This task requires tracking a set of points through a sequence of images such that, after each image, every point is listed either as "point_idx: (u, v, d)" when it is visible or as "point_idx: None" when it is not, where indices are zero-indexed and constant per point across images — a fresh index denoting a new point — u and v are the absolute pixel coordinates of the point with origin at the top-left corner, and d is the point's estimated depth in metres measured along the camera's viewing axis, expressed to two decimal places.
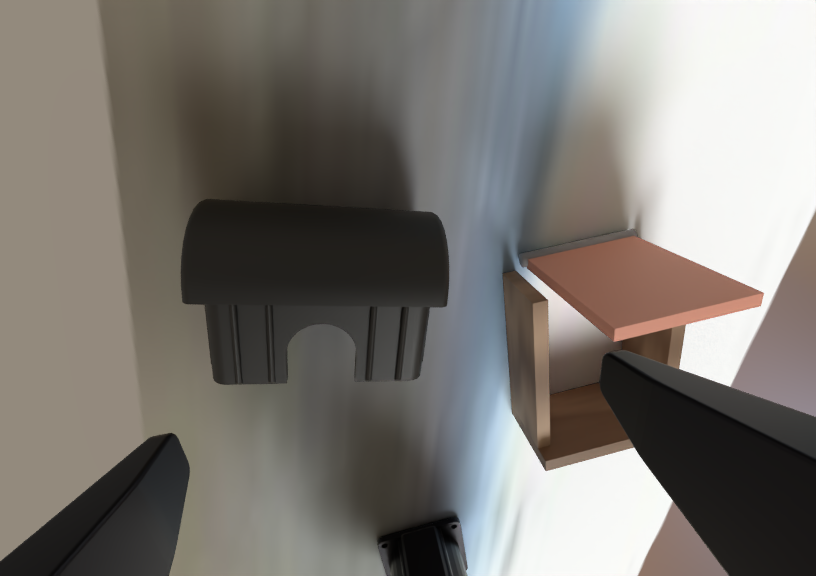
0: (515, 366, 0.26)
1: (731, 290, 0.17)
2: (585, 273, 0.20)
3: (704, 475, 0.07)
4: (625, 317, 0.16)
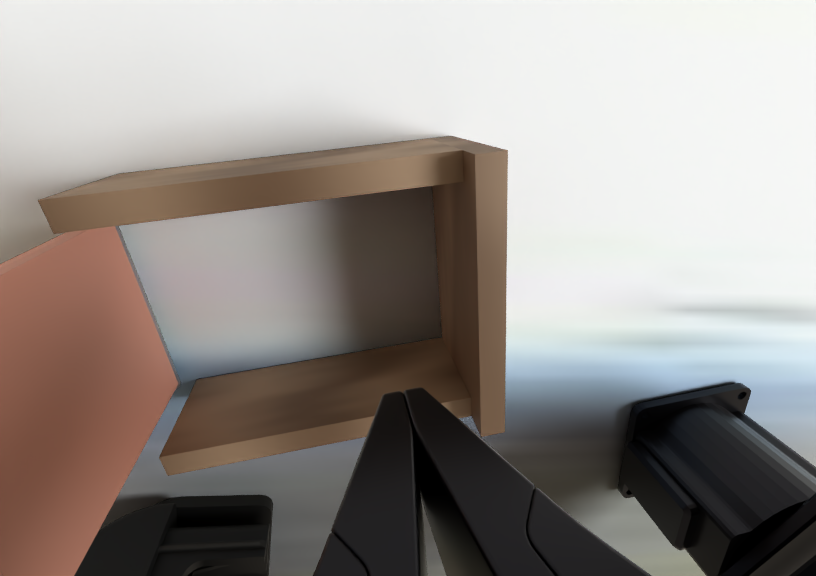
0: None
1: None
2: None
3: (444, 534, 0.06)
4: None
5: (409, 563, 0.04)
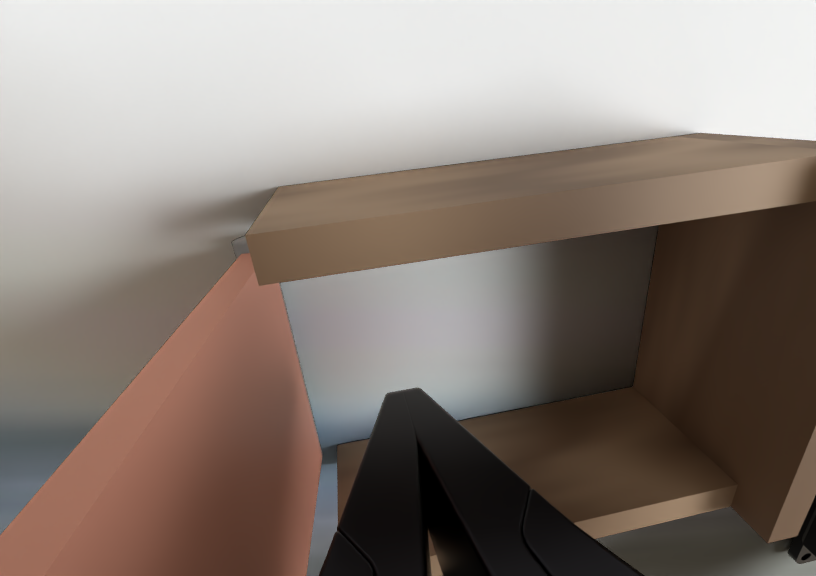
0: None
1: None
2: None
3: (441, 535, 0.06)
4: None
5: (415, 561, 0.05)
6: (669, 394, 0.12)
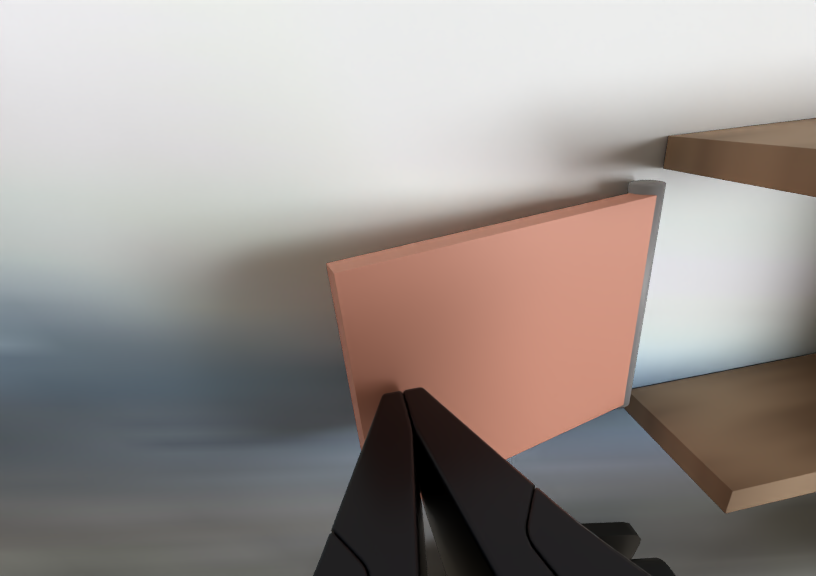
0: None
1: None
2: None
3: (445, 534, 0.06)
4: None
5: (409, 563, 0.04)
6: None
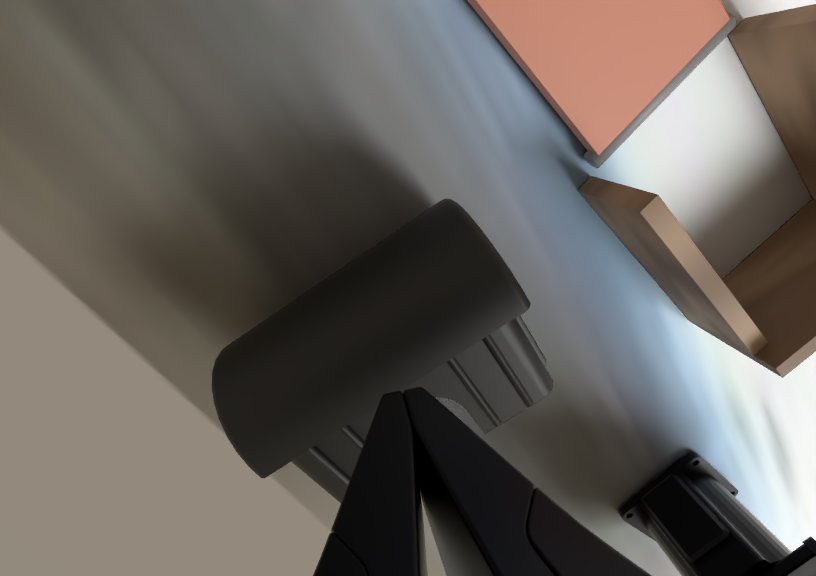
0: (662, 278, 0.19)
1: None
2: None
3: (445, 534, 0.06)
4: None
5: (409, 563, 0.04)
6: None
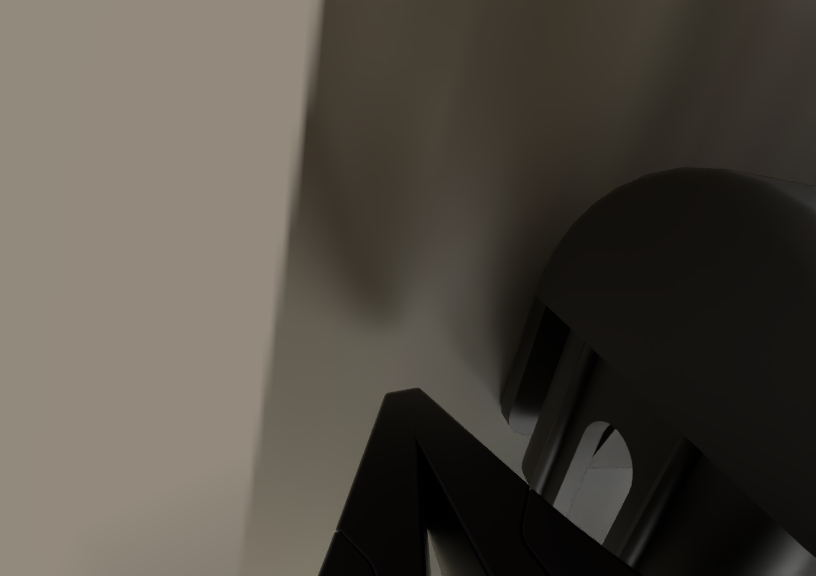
0: None
1: None
2: None
3: (440, 535, 0.06)
4: None
5: (414, 562, 0.04)
6: None
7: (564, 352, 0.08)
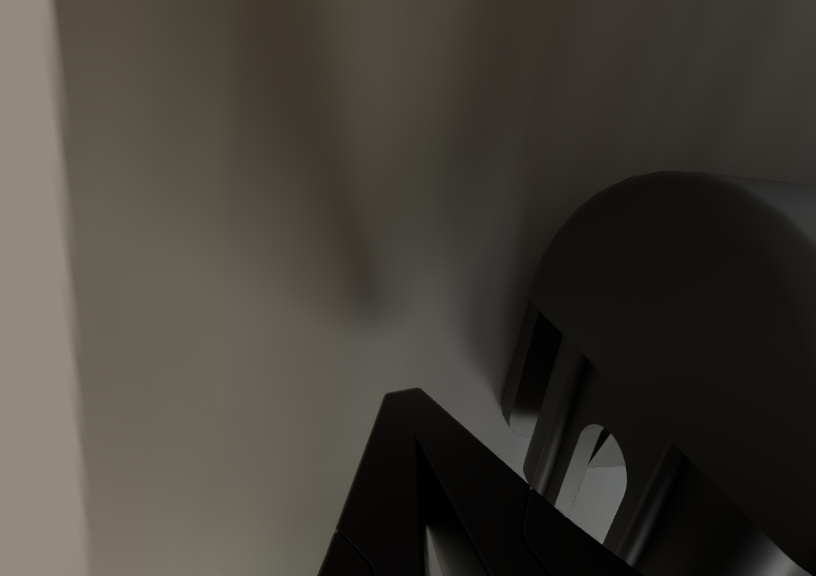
0: None
1: None
2: None
3: (441, 535, 0.06)
4: None
5: (413, 562, 0.05)
6: None
7: (558, 355, 0.08)
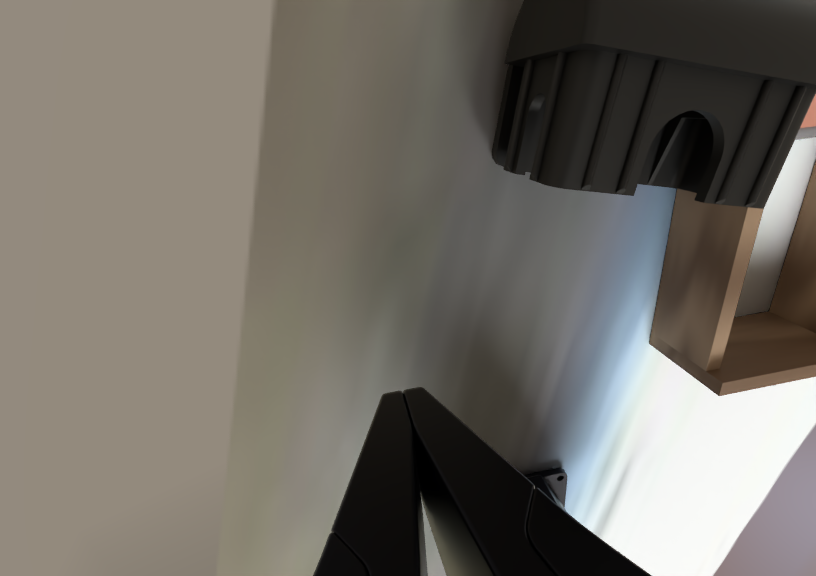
0: (678, 277, 0.22)
1: None
2: None
3: (445, 534, 0.06)
4: None
5: (409, 563, 0.04)
6: None
7: (520, 87, 0.16)
